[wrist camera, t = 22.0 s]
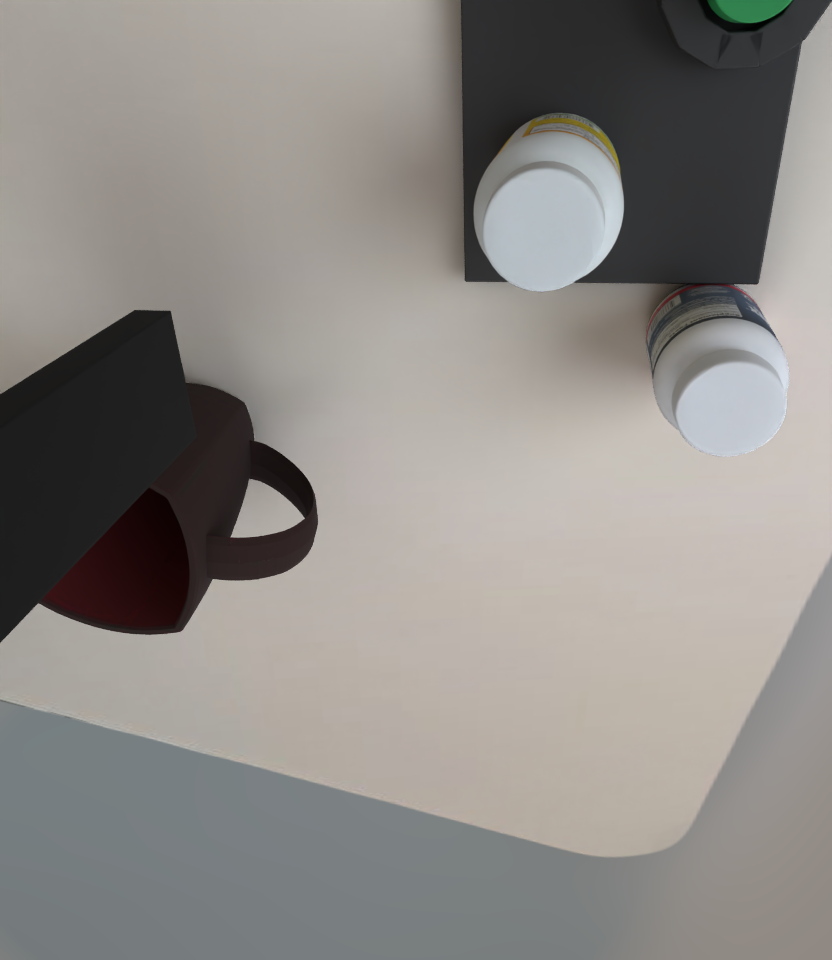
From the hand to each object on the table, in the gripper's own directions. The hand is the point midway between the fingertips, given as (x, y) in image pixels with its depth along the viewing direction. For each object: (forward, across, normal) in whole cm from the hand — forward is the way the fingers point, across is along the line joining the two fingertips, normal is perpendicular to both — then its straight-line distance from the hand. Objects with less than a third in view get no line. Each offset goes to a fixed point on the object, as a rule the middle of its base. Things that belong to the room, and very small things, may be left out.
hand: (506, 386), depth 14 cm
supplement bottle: (+23, 0, 0) cm, 23 cm away
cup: (+24, -18, -14) cm, 33 cm away
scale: (+24, +2, +2) cm, 24 cm away
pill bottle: (+24, +7, -7) cm, 26 cm away
